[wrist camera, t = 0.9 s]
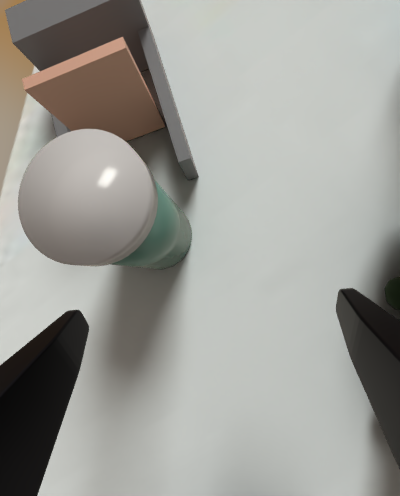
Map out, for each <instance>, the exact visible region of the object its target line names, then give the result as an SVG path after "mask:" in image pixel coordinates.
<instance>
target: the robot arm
mask: <svg viewBox="0 0 400 496" xmlns="http://www.w3.org/2000/svg"><path fill="white" fill-rule="evenodd" d="M336 312H337V316H338V319H339V322H340V326H341V329H342V332H343V335H344V339H345V342H346V345H347V348H348V351H349V354H350V357H351V360H352V362H353V365H354V367H355V369H356V372H357V374H358V376H359V378H360V381H361V383H362V385H363V387H364V390H365V392H366V394H367V396H368V399H369V401H370V403H371V405H372V408H373V410H374V412H375V415H376V417H377V419H378V421H379V424H380V426H381V428H382V430H383V433H384V435H385V437H386V439H387V442H388V444H389V446H390V448H391V451H392V453H393V455H394V458H395V460H396V462H397V464H398V467H399V469H400V321H399V320H398V319H396V318H395V317H394V316H392V315H391V314H389V313H388V312H386V311H385V310H384V309H382V308H381V307H379V306H378V305H377V304H375V303H374V302H372V301H371V300H369V299H368V298H367V297H365V296H364V295H362V294H361V293H360V292H358V291H357V290H355V289H353V288H347V289H340V290H339V292H338V298H337V304H336ZM88 332H89V326H88V323H87V321H86V320H85V318H84V316H83V314H82V313H81V311H79V310H70V311H67V312H65V313H64V314H63V315H62V316H61V317H59V318H58V319H57V320H56V321H54V322H53V323H52V324H51V325H49V326H48V327H47V328H46V329H45V330H43V331H42V332H41V333H40V334H38V335H37V336H36V337H35V338H34V339H32V340H31V341H30V342H29V343H27V344H26V345H25V346H24V347H22V348H21V349H20V350H19V351H18V352H16V353H15V354H14V355H13V356H11V357H10V358H9V359H8V360H6V361H5V362H4V363H3V364H2V365H0V496H37V495H38V492H39V489H40V486H41V483H42V480H43V477H44V474H45V471H46V468H47V465H48V462H49V459H50V456H51V453H52V451H53V448H54V445H55V442H56V439H57V436H58V433H59V430H60V427H61V424H62V421H63V418H64V415H65V412H66V409H67V406H68V403H69V400H70V397H71V394H72V392H73V389H74V386H75V383H76V380H77V377H78V374H79V370H80V366H81V362H82V358H83V354H84V349H85V345H86V341H87V336H88Z"/></svg>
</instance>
